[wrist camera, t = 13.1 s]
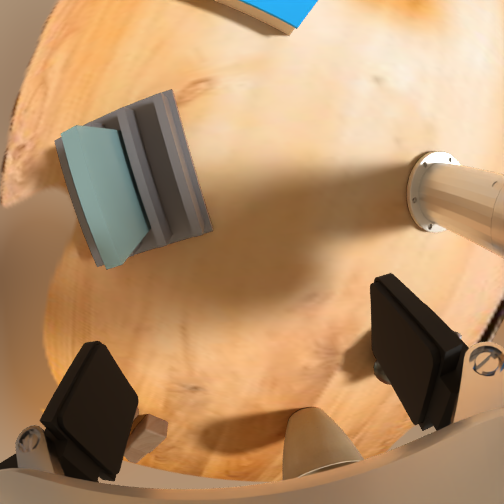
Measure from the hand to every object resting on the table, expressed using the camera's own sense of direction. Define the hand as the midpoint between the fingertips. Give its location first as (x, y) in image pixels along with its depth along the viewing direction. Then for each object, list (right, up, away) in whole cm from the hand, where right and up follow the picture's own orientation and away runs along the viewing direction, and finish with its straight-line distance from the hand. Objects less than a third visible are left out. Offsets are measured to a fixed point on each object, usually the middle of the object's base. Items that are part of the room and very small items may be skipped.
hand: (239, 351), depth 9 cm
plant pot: (+11, -30, +42) cm, 53 cm away
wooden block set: (-28, -32, +39) cm, 58 cm away
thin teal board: (-14, +12, +23) cm, 29 cm away
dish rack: (-14, +12, +24) cm, 30 cm away
